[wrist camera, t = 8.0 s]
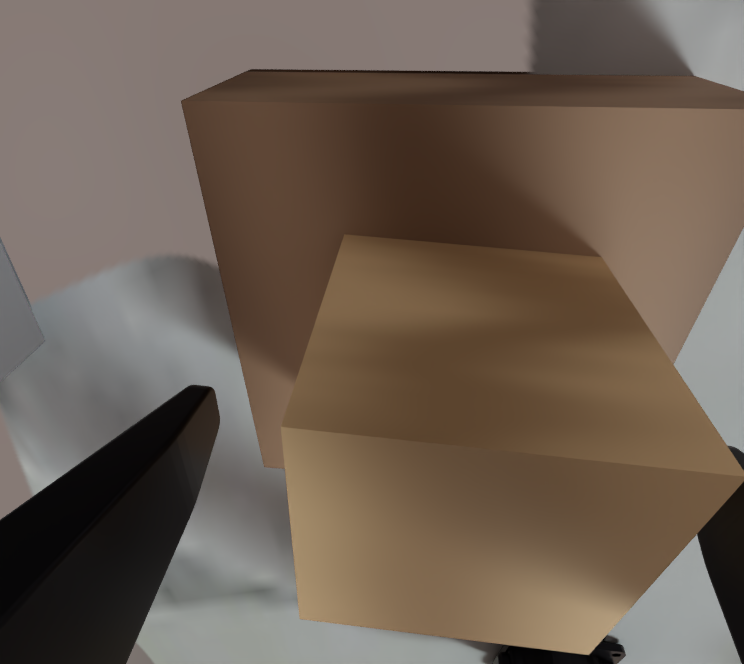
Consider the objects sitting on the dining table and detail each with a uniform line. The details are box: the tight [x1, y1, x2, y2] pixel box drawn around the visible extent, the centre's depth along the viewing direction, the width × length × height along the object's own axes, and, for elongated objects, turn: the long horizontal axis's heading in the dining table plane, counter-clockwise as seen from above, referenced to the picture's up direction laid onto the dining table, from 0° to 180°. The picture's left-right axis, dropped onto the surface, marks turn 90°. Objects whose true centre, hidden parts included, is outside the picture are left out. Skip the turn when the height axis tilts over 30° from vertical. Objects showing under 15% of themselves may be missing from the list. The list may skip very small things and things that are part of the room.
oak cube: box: [281, 234, 744, 655], centre depth 8 cm, size 5×5×5 cm
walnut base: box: [181, 69, 744, 469], centre depth 12 cm, size 10×10×4 cm
